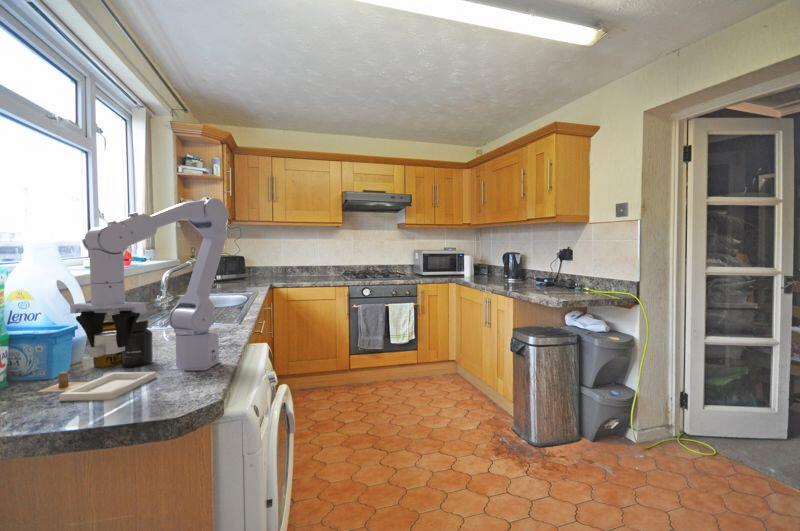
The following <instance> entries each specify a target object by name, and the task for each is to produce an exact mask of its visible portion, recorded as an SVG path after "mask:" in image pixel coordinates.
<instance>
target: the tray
mask: <svg viewBox="0 0 800 531" xmlns="http://www.w3.org/2000/svg"><path fill="white" fill-rule="evenodd" d="M155 379H157V371H130V372H129V371H128V372H127V371H126V372H124V371H123V372H121V371H120V372H119V371H117V372H116V371H115V372H110V373H108V374H106V375H103V376H100V377H99V378H96V379H93V380H91V381H87V382H88V383H85V384H83V385H80V386H78V387H76V388H73V389H71V390H68V391H66V392H62V393H60V394H59V395H58V396H59V402H79V401H80V402H81V401H85V402H87V401H92V402H93V401H113V400H115V399H116V398H119V397H121V396H122V395H125V394H127V393H129V392H131V391H133V390H134V389H137V388H138V387H140V386H143V385H144V384H146V383H149V382H150V381H151V382H152V380H155Z"/></svg>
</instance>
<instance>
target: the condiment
mask: <svg viewBox="0 0 800 531" xmlns="http://www.w3.org/2000/svg"><path fill="white" fill-rule="evenodd" d="M108 331H116V328H115V324H114V321H113V319H104V323H103V331H102V332H108ZM92 358H93V359H92V360H93V367H95V368H107V367H113V366H116V365H117V366H118V365H120V364H121V352H119V353H114V354H108V355H102V356H99V357H92Z"/></svg>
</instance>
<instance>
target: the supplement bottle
mask: <svg viewBox="0 0 800 531" xmlns="http://www.w3.org/2000/svg"><path fill="white" fill-rule="evenodd" d="M148 328H149V320H148V319H137V320H136V322H135V324H134V326H133V329H132V331H131V334H130V338H129V342H128V345H127V346H125V351H122V352H121V363H120V364H121V365H120V367H121V368H123V369H136V368H140V367H147V366H149V365H151V364H153V360H154V359H153V354H154V353H153V349H154V348H153V343H154V342H153V341H154V340H153V335H154V334H153V331H152V330H150V329H148Z"/></svg>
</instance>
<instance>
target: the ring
mask: <svg viewBox="0 0 800 531" xmlns="http://www.w3.org/2000/svg"><path fill="white" fill-rule="evenodd" d="M93 338H94V346H92V347H91V346H90V347H88V353H89V354H88V356H89V358H93V357H99V356H102V355H108V354H114V353H119V352H122V351H125V346H124V347H118V346H117V335H116V331H108V332H100V333H97V334H93Z"/></svg>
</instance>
